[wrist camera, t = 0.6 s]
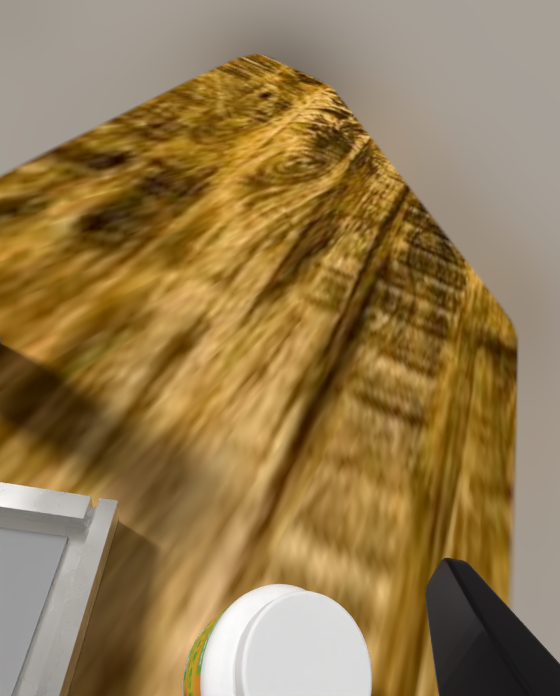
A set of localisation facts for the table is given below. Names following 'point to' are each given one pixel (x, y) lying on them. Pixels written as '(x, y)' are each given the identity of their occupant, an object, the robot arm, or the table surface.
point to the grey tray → (48, 584)
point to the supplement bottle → (279, 648)
